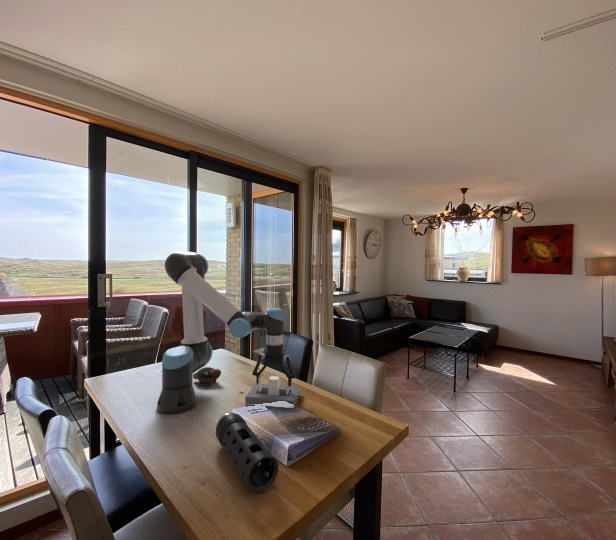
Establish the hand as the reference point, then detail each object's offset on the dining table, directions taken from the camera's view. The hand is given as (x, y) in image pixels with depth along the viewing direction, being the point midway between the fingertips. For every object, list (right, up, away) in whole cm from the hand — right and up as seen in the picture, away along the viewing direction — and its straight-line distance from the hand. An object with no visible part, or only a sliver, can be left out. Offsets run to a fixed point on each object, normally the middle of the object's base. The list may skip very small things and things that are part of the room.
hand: (273, 392), depth 132 cm
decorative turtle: (-35, -3, +16) cm, 39 cm away
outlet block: (0, -3, 0) cm, 3 cm away
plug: (0, -3, 0) cm, 3 cm away
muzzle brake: (-4, -4, -43) cm, 43 cm away
